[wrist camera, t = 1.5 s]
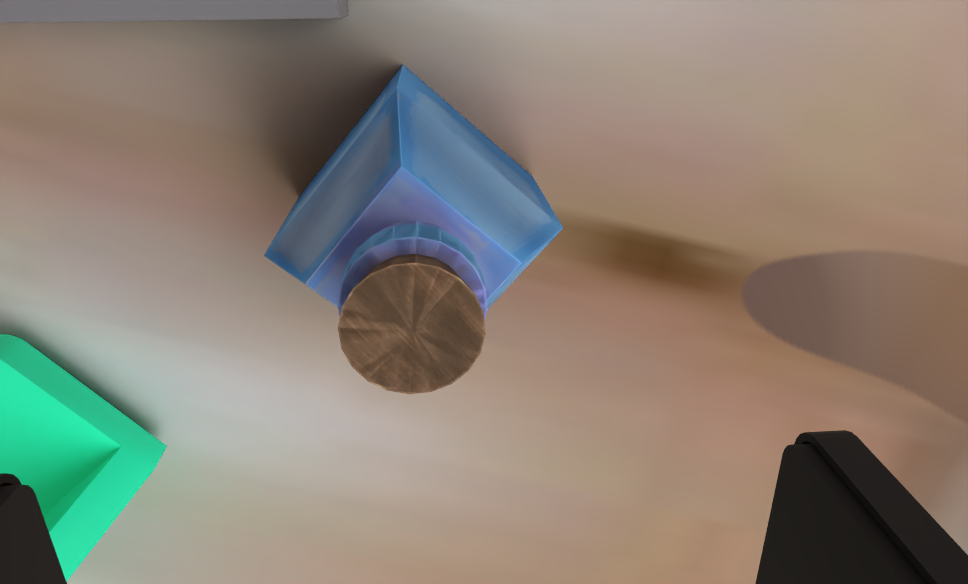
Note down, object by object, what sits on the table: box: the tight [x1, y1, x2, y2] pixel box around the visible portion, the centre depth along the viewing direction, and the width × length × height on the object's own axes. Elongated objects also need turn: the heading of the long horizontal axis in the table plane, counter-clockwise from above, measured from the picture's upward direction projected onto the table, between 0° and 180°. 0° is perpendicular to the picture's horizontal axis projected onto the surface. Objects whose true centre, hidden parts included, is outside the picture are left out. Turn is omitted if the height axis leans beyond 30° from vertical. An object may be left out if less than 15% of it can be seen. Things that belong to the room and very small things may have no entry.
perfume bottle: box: [264, 65, 563, 394], centre depth 20 cm, size 6×6×12 cm
